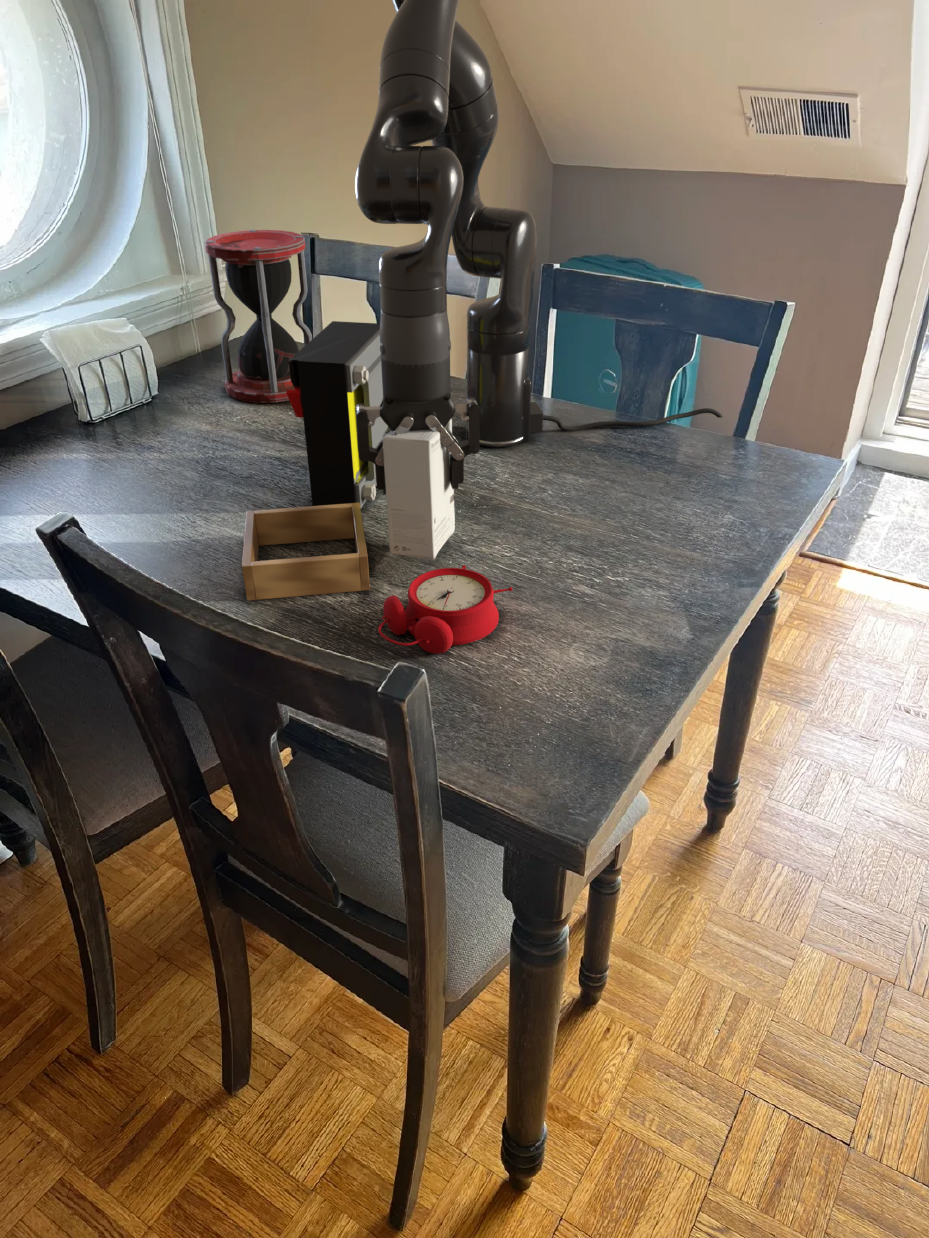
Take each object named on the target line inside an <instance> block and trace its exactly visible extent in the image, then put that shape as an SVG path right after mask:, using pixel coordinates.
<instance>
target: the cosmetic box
mask: <svg viewBox="0 0 929 1238" xmlns="http://www.w3.org/2000/svg"><path fill="white" fill-rule="evenodd" d="M445 429H446V431H447V430H448V429H449V430H450V431H451V433H452V434H453V419H452V418H451V420H450V421H449V422H448V424H447V425H446V427H445ZM383 454H384V470H385V485H386V494H385V498H386V510H387V511H386V513H387V514H386V515H387V528H388V529H387V530H388V544H389V545H388V546H389V553H391V554H394V555H402V556H407V557H411V558H418V559H422V560H428V561H434V560H435V559H436V557H437V555H438V553H439V552H440V550H441V549H442V547H443V546H444V545H445V544H446V542H447V541H448V539H449V538H450V537H451V536H452V535H453V534H454V533H455V530H456V525H455V524H456V522H455V521H456V520H455V489H452V487H451V484H450V454H451V453H450V452H449V450H448V449H447V448H446V447H445V446H444V445H443V444H442V442H441V441H440V431H439V432H433V431H432V430H415V431H408V432H407V433H403V434H400V433H399V434H393V431H392V430H391V431H390V432H389V433H388V434H386V435H385V436H384V437H383Z"/></svg>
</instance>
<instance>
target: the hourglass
mask: <svg viewBox="0 0 929 1238" xmlns="http://www.w3.org/2000/svg"><path fill="white" fill-rule="evenodd" d="M203 244H204V250H205V253H206V254H207V256H208V263H209V269H210V277H211V285H212V291H213V298H214V299H215V301H216V303H217V305H218V306H219V307H220V308H221V309H222V310H223V311H224V314H225V316H226V327H225V330H224V331H223V333H222V334H221V339H220V345H221V352H222V360H223V366H224V373H225V381H224V386H225V387H224V388H225V392H226V393H227V395H228V396H229V397H231V398H233V399H236V400H238V401H242V402H247V403H256V404H257V403H258V404H267V403H268V404H272V403H273V404H274V403H282V402H290V400H289V398H288V396H287V393H286V392H287V390H295V388H294V386H293V384H292V382H291V377H290V368H289V361H290V359H291V358H292V357H293V356H294V355H296V354H297V353H298V352H299V351H300V350H299V345H298V343H297V342H296V340H295V339H294V338H293V336H292V335H291V334H290V333H289V332H288V331H287V330H286V329H285V328H284V327H283V326H282V325H280V324H279V323H278V322H277V321H276V320H275V319H274V318H273V315H272V314H273V313H274V312H275V310H276V309H277V308H278V307H279V305H280V304H281V303H282V302H283V300H284V299H285V298H286V296H287V294H288V293H289V290H290V287H291V285H292V273H293V272H292V265H291V261H290V259H291V258H292V256H295V255H296V256H297V265H298V267H297V268H298V277H299V288H300V291H299V294H298V298H297V300H296V301H295V302H294V303H293V306H292V313H291V315H292V318H293V321H294V324H295V325H296V326H297V327H298V328H299V329H300V330H301V332H302V333H303V335H304V340H305V346H306V345H307V344H308V343H309V342H310V341H311V340H312V339H313V335H312V332H311V330H310V328H309V327H308V326H307V325H306V324H305V323H304V321H303V318H302V314H301V313H302V305H303V303H304V302H305V300H306V299H307V295H308V292H309V291H308V280H307V279H308V278H307V269H306V259H305V250H306V240H305V236H304V235H303V234H301V233H298V232H294V231H286V230H280V229H279V230H277V229H249V230H237V231H230V232H224V233H220V234H216V235H213V236H211V237H209V238H206V240H205V241H204V243H203ZM217 259H218V260H222V261H223V262H225V266H224V269H225V270H224V271H225V277H226V281H227V285H228V287H229V288H230V290H231V292H232V293H233V295H234V296H235V297H236V298H237V299H238V300H239V301H240V303H242V304H243V305H244V306H245V307H247V309H249V310H250V311H251V312H252V313H254V314H255V317H256V319H255V320H254V322H253V323H252V324H251V325H250V327H249V328H248V329H247V330H246V332H245V333H244V335H243V336H242V338H241V339H240V342H239V345H238V348H237V365H238V368H239V370H237V371H234V372H233V370H232V369H233V368H232V360H231V355H230V348H229V340H230V336H231V334H232V333H233V331H234V330H235V327H236V321H237V318H236V316H235V313H234V310H233V308H232V307H231V306H230V305H228V304H227V303H226V301H225V300H224V298H223V296H222V291H221V285H220V284H221V283H220V277H219V271H218V270H219V269H218V263H217Z"/></svg>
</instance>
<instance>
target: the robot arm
mask: <svg viewBox="0 0 929 1238" xmlns="http://www.w3.org/2000/svg"><path fill="white" fill-rule="evenodd" d="M460 1H461V0H391V3H392V5H393V7H394V11H395V15H394V17H393V19H392V21H391V23H390V24H389V27H388V29H387V32H386V34H385V36H384V40H383V43H382V47H381V53H380V61H379V79H378V81H379V82H378V98H377V107H376V112H375V115H374V118H373V119H374V120H373V122H372V125H371V128H370V132H369V134H368V136H367V140H366V142H365V145H364V147H363V149H362V153H361V154H360V158H359V161H358V164H357V168H356V173H355V180H354V194H355V199H356V202H357V205H358V207H359V209H360V211H361V213H362V215H364V217H366V218H367V219H368V220H369V221H371V222H373V223H375V224H381V225H427V230H426V234H425V235H424V237H423V238H421V239H420V240H419V241H416V242H414V243H410V244H406V245H399V246H396V247H394V248H390V249H387V250H386V251H384V252H383V253H382V254H381V255H380V257H379V260H378V283H379V300H380V301H379V302H380V321H379V324H380V351H381V368H382V387H383V400H382V403H381V404H380V406H373V407H366V406H365V405H364V404H358V405H357V406H356V426H357V444H358V452H359V459H360V460H361V461H363V462H366V461H370V462H373V463H374V464H375V473H376V484H377V485H376V487H377V490H378V491H382V494H383V495H386V485H385V470H384V454H383V437H384V436H385V435H386V434H388V433H389V432H390V431H391V430H392V431H393V434H399V433H400V434H403V433H407V432H408V431H415V430H432V431H433V432H439V431H440V441H441V442H442V444H443V445H444V446H445V447H446V448H447V449H448V450H449V452H450V453H451V454H450V484H451V487H452V489H454V490H458V489H459V485H463V483H464V481H465V472H464V471H465V462H464V461H465V458H466V457H467V456H469V455H476V454H478V453H480V449H481V447H480V446H482V447H488V448H489V447H490V448H507V447H512V446H516V445H519V444H521V443H525V442H530V437H531V436H530V435H531V434H532V433H543V429H544V428H543V427H544V421H549V422H553V423H555V424H556V425H557V427H558V428H559V429H560V430H562V431H565V432H576V431H583V430H589V429H593V428H599V427H633V428H636V427H639V428H640V427H651V426H657V425H661V424H666V423H669V422H672V421H674V420H679V419H685V418H689V417H694V416H697V415H702V414H710V415H713V416H715V417H716V418H723V415H722V414H721V412H719V411H718V410H716V409H714V408H709V407H706V408H705V407H704V408H698V409H694V410H691V411H687V412H681V413H676V414H672V415H668V416H665V417H662V418H659V419H653V420H647V421H621V420H620V421H619V420H606V421H605V420H604V421H596V422H595V421H594V422H592V423H586V424H583V425H578V426H577V425H576V426H570V425H569V426H568V425H564V424H563V421H562V420H561V419H560V418H558V417H556V416H552V415H545V414H544V412H543V411H542V409H541V408H540V406H539V405H538V402H537V401H536V402H535V401H533V402H532V399H531V398H532V381H531V379H530V377H529V358H530V357H529V356H530V355H529V353H530V326H531V314H532V313H531V312H532V306H533V302H534V301H533V300H534V285H535V272H536V261H537V248H538V230H537V223H536V221H535V218H534V216H533V214H532V213H531V212H529V211H528V210H525V209H519V208H518V209H517V208H509V207H498V206H497V207H495V206H486V205H485V204H484V203H483V200H482V198H481V193H480V185H479V177H480V173H481V170H482V168H483V165H484V162H485V160H486V159H487V157H488V154H489V152H490V150H491V148H492V145H493V144H494V140H495V138H496V135H497V132H498V127H499V124H500V123H499V122H500V111H499V110H500V109H499V103H498V99H497V93H496V88H495V83H494V77H493V74H492V69H491V65H490V61H489V59H488V57H487V55H486V53H485V51H483V49H482V47H481V46H480V45H479V43H478V42H477V41H476V39H474V37H473V36H472V35H471V34H470V33H469V32H468V31H467V30H466V28H465V27H463V25H462V24H461V23H460V22H459V21H458V20H457V15H458V10H459V5H460ZM429 141H430V143H431V145H422V146H421V145H420V144H424V143H426V142H429ZM451 242H452V246H453V247H452V248H453V251H454V255H455V257H456V258H455V259H456V261H457V264H458V265H459V267H460V269H461V270H462V272H465V273H466V274H468V275H470V276H475V277H480V278H481V277H482V278H490V279H499V280H501V284H500V291H499V293H497V294H496V295H493V296H489V297H486V298H483V299H479V300H477V301H474V302H473V303H471V304H470V305H469V306H468V307H467V311H466V399H465V400H459V401H453V399H452V394H451V391H452V390H451V389H452V388H451V350H452V342H451V333H450V331H451V330H450V322H449V316H448V315H449V314H448V298H447V297H448V292H447V291H448V288H447V285H448V284H447V272H448V269H447V268H448V258H449V257H448V256H449V250H450V244H451ZM455 413H458V414H459V417H460V419H461V420H462V421H464V422H465V440H462V441H460V442H459V441H458V439H457V438H456V437H455V435H454V434H453V432H452V433H451V431H450V430H449V429H448V430H447V431H446V429H445V427H446V425H447V424H448V422H449V421H450V420H451V419H452V418H453V417H454V415H455ZM378 417H381V418H382V420H383V421H384V422H385V423H386V424H387V426H388V427H387V429H386V431H385V432H384V434H383V436H382V439H381V441H380V442H379V444H378V445H377V447H376V448H373V447H369V432H368V427H372V426H373V425H374V424H375V420H376V418H378Z"/></svg>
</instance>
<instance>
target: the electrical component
mask: <svg viewBox="0 0 929 1238" xmlns="http://www.w3.org/2000/svg"><path fill="white" fill-rule="evenodd" d="M289 368H290V377H291V382H292V384H293V386H294V388H295V390H287V392H286V393H287V396H288V398H289V403H290V406H291V408H292V410H293V413H294V414H295V417H296V418H301V419H303V421H302V422H303V427H304V428H303V429H304V439H305V447H306V449H305V450H306V458H307V465H308V467H307V468H308V476H309V487H310V495H311V504H312V505H311V506H322V505H335V504H349V503H360V508H361V509H362V508H363V506H364V505H365V504H366V502H368V501H369V502H373V501H374V500H375V499H376V496H377V488H376V487H377V484H376V473H375V464H374V463H373V462H370V461H366V462H363V461H361V460H360V459H359V452H358V444H357V426H356V406H357V405H358V404H364V405H365V406H366V407H373V406H380V404H381V403H382V400H383V387H382V368H381V351H380V322H379V323H377V322H357V321H341V320H340V321H338V320H337V321H336V320H332V321H331V322H329V324H327V325H326V326H325V327H324V328H323V329H322V330H321V331H320V332H319V333H317V335H315V336H314V337H312V340H311V341H310V342H309V343H308V344H307V345H306V344H305V345H304V346H303V347H302V348H301V349H300V350H299V352H298V353H297V354H296V355H294V356H293V357H292V358H291V359H290V361H289ZM387 427H388V426H387V424H386V423H385V422H384V421H383V420H382V418H381V417H378V418H376V420H375V424H374V425H373V426H372V427H368V432H369V447H373V448H376V447H377V445H378V444H379V442H380V441H381V439H382V436H383V434H384V432H385V431H386V429H387Z"/></svg>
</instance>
